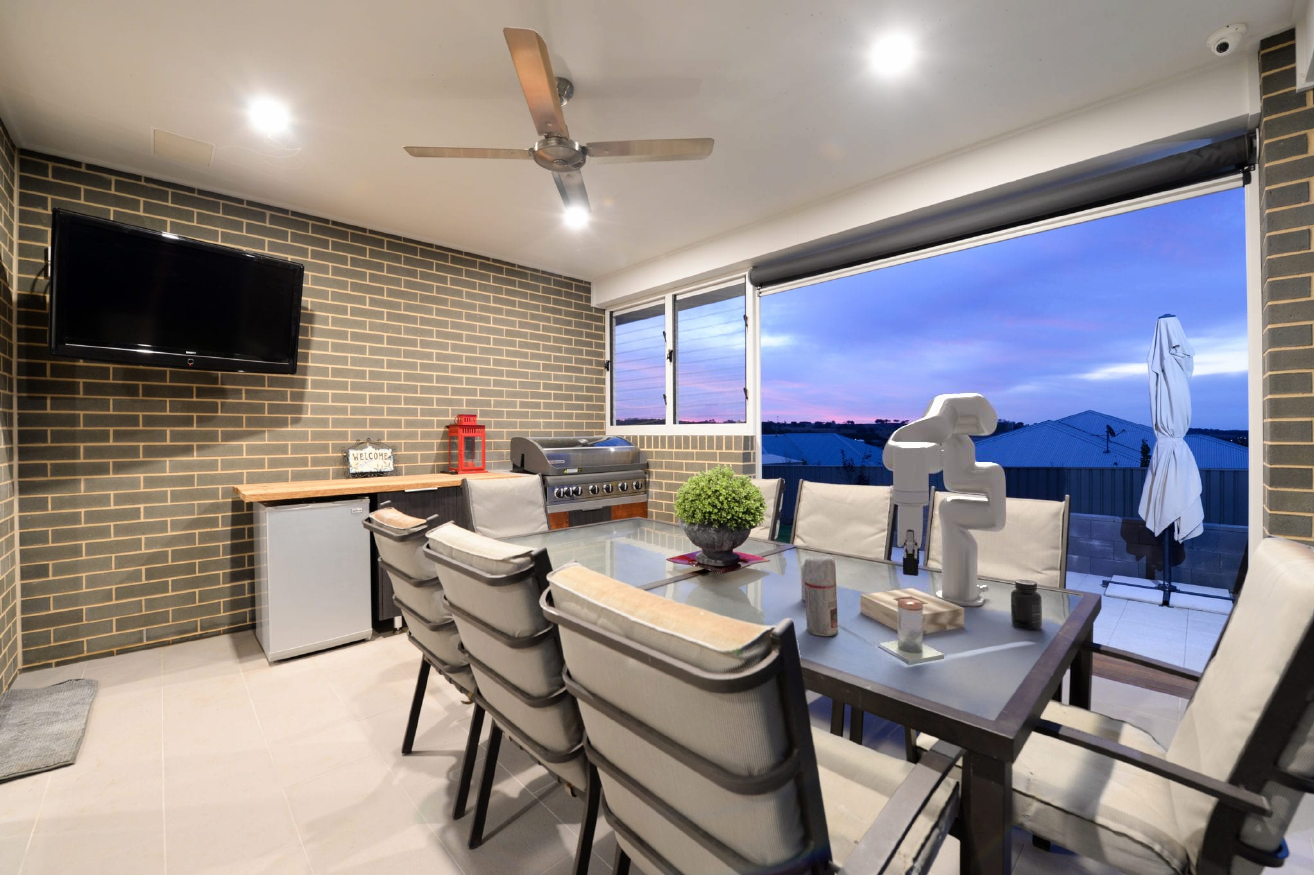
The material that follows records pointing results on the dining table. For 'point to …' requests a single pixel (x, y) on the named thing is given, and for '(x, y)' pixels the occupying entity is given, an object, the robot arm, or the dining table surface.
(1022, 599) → the supplement bottle
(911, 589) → the housing
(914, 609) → the copper topped silver cylinder
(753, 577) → the dining table surface
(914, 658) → the pad
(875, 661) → the dining table surface
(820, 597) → the spray can
